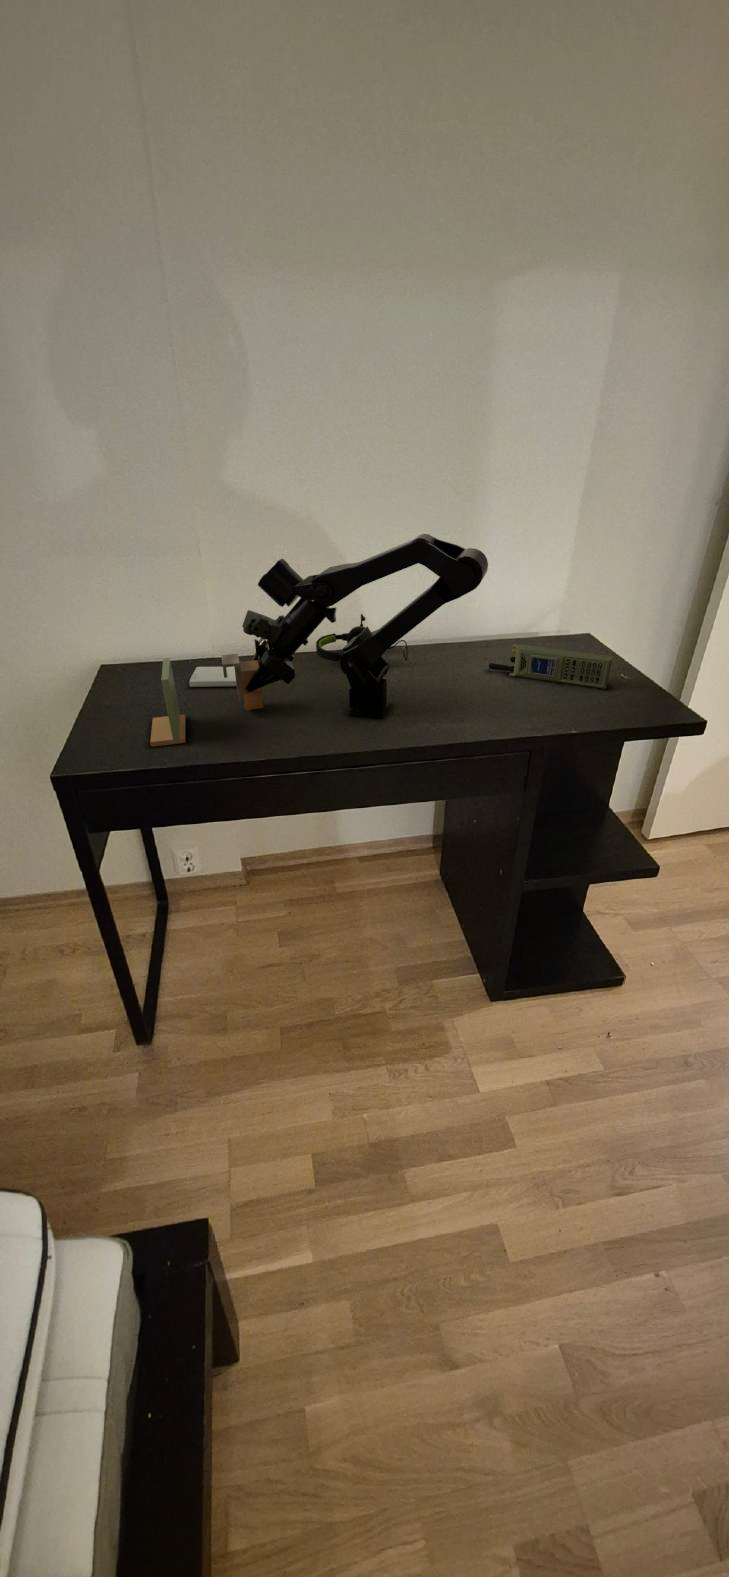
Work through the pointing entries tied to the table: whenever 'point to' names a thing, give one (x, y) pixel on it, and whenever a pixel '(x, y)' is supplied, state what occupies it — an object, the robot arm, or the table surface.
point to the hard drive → (212, 677)
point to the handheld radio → (559, 666)
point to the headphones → (345, 637)
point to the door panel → (173, 724)
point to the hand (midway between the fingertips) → (246, 684)
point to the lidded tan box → (244, 680)
